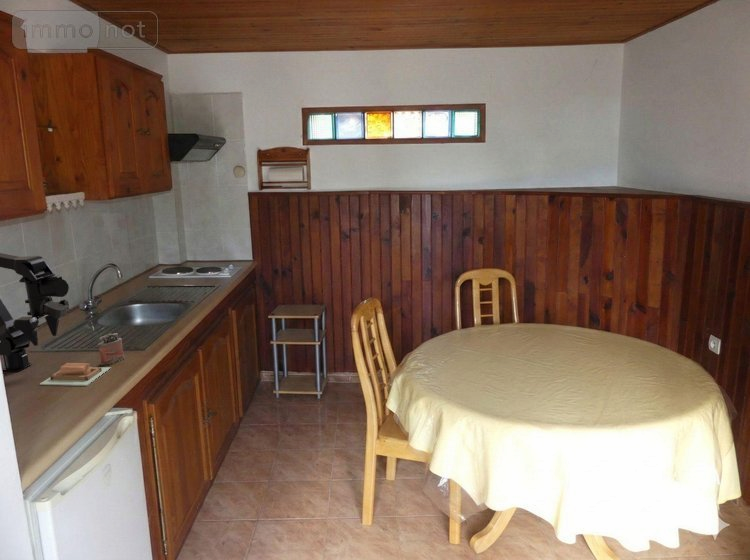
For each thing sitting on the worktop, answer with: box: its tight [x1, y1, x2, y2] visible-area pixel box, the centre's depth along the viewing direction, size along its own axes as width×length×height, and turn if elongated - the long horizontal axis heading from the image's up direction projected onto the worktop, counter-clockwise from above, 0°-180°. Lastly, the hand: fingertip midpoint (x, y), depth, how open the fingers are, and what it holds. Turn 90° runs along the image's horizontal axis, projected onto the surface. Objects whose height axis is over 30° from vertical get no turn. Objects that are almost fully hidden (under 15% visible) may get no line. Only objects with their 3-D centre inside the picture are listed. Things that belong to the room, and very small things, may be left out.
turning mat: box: [39, 366, 112, 387], centre depth 190 cm, size 16×14×2 cm
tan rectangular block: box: [59, 362, 91, 376], centre depth 189 cm, size 4×8×4 cm, turn 83°
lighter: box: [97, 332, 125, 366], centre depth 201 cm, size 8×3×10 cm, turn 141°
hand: (45, 340), depth 193 cm, fingers open, 9 cm apart
